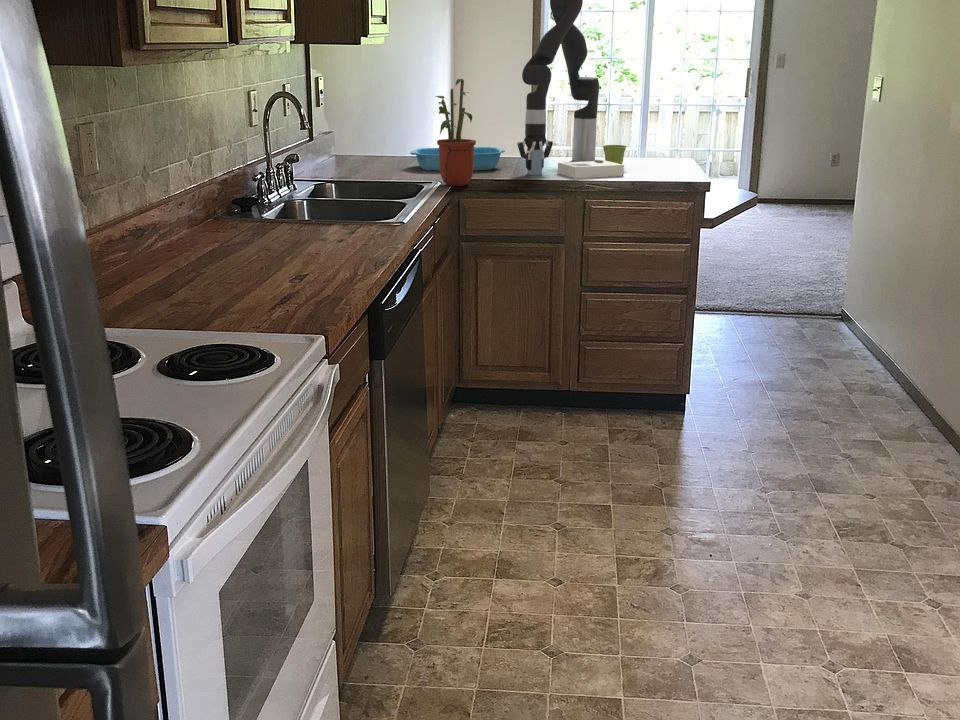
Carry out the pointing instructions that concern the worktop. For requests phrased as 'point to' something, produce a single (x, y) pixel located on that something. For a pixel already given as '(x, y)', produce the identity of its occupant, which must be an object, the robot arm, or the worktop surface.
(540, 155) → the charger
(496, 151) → the casserole dish
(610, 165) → the outlet plate
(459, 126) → the potted plant
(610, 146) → the plant pot
